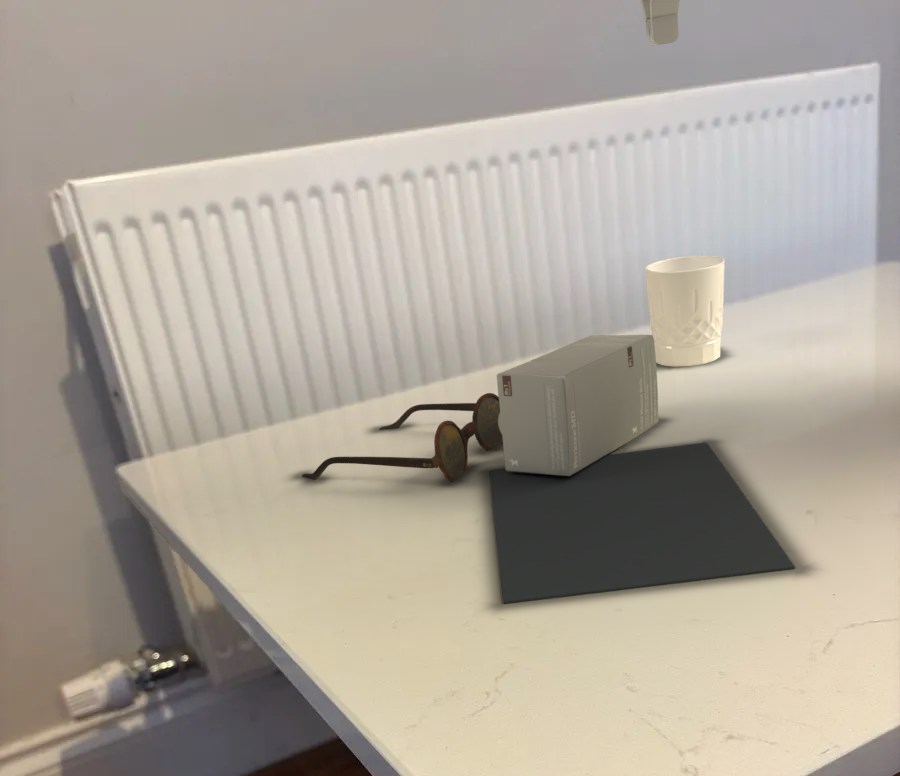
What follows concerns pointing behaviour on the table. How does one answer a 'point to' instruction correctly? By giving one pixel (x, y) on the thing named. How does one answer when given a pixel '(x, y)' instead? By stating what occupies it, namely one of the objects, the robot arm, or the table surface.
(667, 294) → the white cup
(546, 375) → the cosmetic box
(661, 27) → the robot arm
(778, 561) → the mat
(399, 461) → the eyeglasses
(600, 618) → the table surface
